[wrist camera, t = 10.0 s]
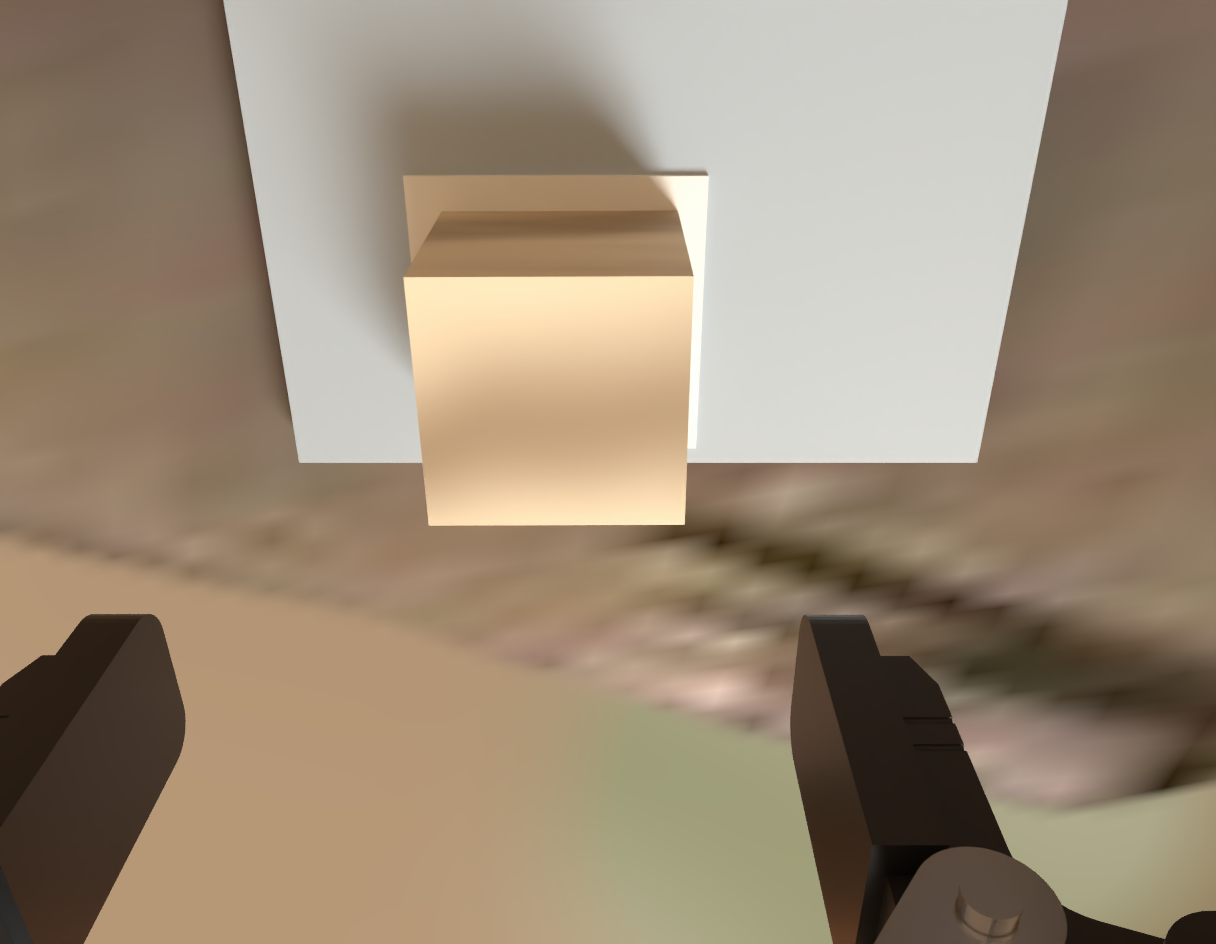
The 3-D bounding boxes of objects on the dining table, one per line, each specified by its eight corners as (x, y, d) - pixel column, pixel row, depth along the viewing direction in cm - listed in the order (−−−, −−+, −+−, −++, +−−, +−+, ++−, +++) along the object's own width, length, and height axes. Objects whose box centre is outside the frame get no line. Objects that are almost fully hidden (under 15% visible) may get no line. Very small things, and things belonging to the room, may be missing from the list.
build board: (234, -47, 22) (213, -45, 21) (1054, -47, 22) (1080, -45, 21) (310, 442, 28) (297, 465, 27) (962, 442, 28) (979, 465, 27)
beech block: (441, 211, 24) (403, 276, 19) (677, 210, 24) (694, 275, 19) (459, 424, 26) (429, 525, 22) (671, 423, 26) (684, 524, 22)
